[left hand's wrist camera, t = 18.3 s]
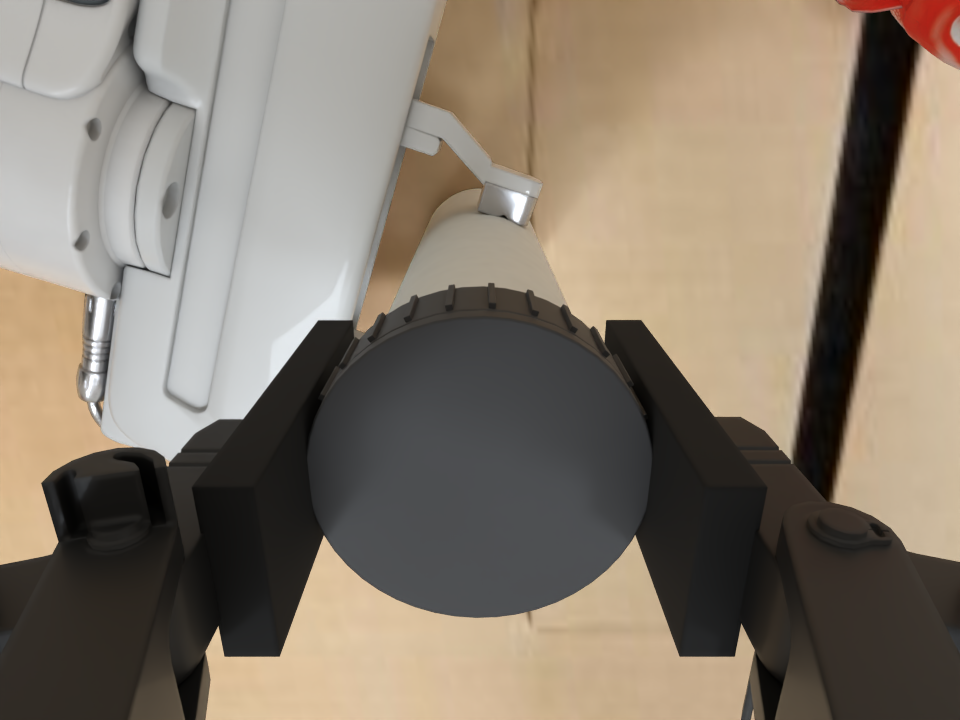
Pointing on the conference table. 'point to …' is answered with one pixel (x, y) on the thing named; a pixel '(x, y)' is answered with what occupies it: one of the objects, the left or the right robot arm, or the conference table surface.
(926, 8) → the fish
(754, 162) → the conference table surface
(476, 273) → the jar
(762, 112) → the conference table surface
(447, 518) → the lid
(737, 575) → the left robot arm
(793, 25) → the conference table surface
